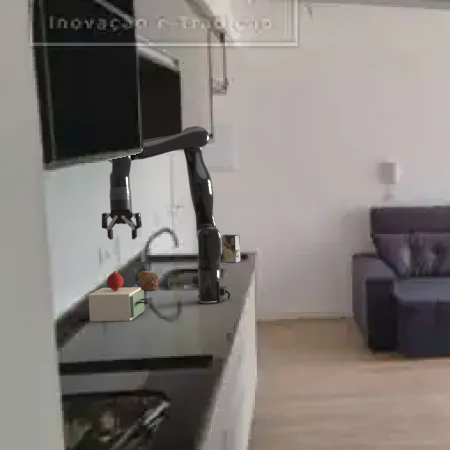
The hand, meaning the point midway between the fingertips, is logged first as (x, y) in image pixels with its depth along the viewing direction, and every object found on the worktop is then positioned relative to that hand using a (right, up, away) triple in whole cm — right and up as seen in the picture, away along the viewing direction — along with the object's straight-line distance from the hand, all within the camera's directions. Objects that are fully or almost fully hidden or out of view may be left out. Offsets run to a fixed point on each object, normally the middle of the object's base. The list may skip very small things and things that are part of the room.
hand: (122, 239), depth 246 cm
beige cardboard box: (-2, -30, -1) cm, 30 cm away
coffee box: (+3, -17, +129) cm, 130 cm away
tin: (-13, -25, +51) cm, 58 cm away
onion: (-2, -20, -2) cm, 20 cm away
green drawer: (+2, -29, -1) cm, 29 cm away
